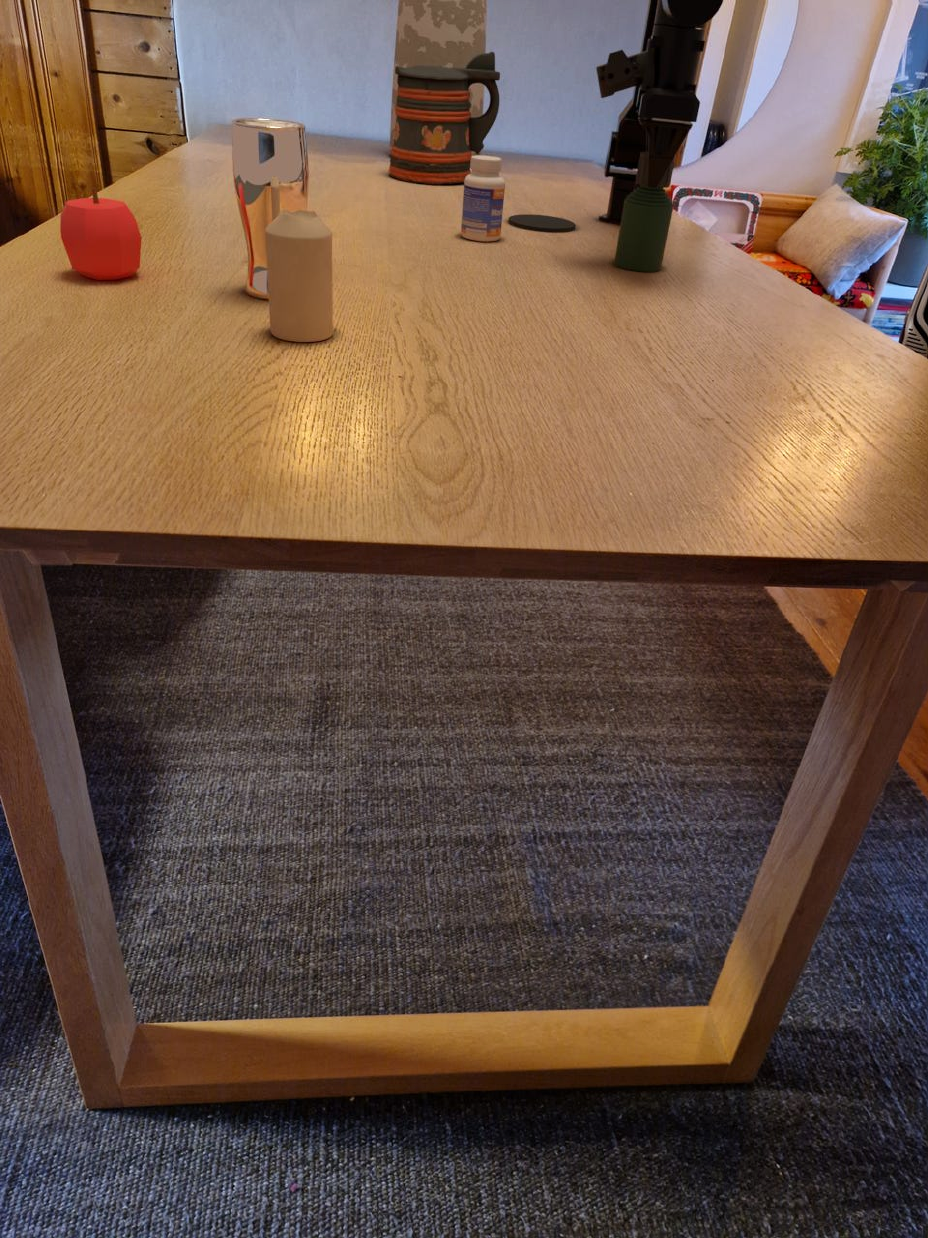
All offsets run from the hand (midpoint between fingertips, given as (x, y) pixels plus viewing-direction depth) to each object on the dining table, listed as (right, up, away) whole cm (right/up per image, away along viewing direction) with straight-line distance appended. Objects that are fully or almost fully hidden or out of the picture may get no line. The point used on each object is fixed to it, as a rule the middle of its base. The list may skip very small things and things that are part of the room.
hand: (651, 182), depth 105 cm
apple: (-59, -18, -17) cm, 64 cm away
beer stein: (-27, +27, +53) cm, 65 cm away
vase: (-29, +42, +74) cm, 90 cm away
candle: (-37, -28, -27) cm, 54 cm away
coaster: (-11, +6, +24) cm, 27 cm away
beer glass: (-42, -20, -17) cm, 49 cm away
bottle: (-1, -8, +6) cm, 10 cm away
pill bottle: (-21, -1, +13) cm, 24 cm away
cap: (0, 0, 0) cm, 0 cm away
